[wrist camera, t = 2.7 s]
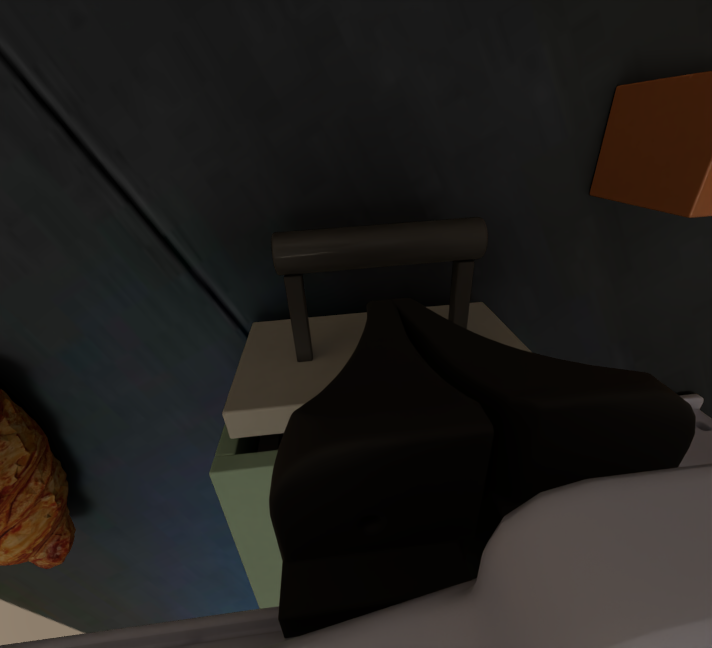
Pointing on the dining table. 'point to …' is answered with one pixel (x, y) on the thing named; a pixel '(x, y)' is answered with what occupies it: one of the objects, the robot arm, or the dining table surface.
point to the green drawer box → (249, 511)
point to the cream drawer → (342, 332)
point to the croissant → (31, 493)
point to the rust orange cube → (659, 146)
